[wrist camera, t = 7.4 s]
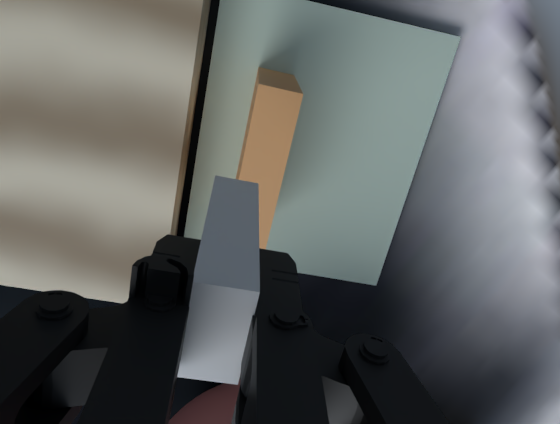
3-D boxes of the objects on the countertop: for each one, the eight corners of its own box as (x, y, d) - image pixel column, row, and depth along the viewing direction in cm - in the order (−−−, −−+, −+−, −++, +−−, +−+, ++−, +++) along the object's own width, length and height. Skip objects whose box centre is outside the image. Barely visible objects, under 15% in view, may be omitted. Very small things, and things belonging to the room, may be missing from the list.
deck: (-76, -139, 23) (-141, -166, 19) (220, -65, 24) (213, -77, 21) (-54, 237, 30) (-97, 269, 27) (170, 273, 32) (159, 309, 28)
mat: (223, -20, 25) (222, -20, 25) (456, 36, 27) (461, 36, 26) (182, 248, 31) (181, 253, 31) (374, 281, 33) (376, 285, 32)
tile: (258, 83, 21) (303, 94, 21) (258, 66, 26) (294, 75, 27) (221, 262, 24) (260, 269, 24) (228, 214, 30) (260, 220, 30)
